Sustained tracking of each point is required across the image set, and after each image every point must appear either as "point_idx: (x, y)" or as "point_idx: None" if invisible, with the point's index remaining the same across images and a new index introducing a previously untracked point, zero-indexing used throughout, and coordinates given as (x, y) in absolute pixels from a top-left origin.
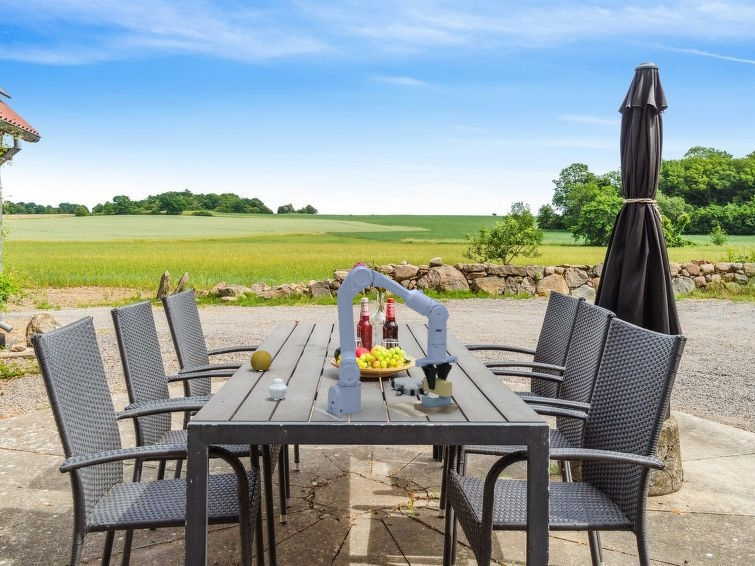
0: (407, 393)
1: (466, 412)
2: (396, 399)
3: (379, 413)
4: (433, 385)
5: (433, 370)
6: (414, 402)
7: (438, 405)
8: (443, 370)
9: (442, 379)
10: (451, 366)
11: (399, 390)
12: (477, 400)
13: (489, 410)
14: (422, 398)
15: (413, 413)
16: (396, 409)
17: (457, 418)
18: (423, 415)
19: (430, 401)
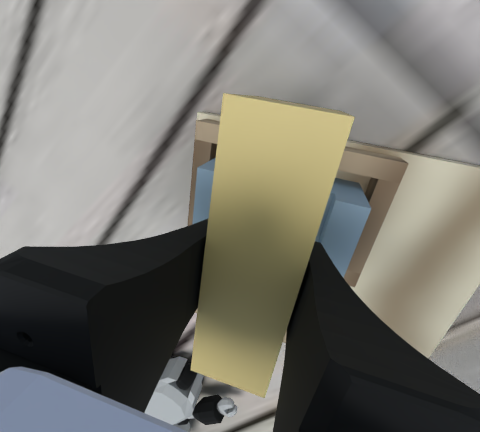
0: (200, 384)
1: (171, 99)
2: None
3: (474, 354)
4: (326, 254)
5: (430, 378)
6: None
7: None
8: (151, 308)
9: (207, 252)
10: (6, 257)
11: (216, 413)
12: (30, 194)
13: (65, 50)
14: (344, 269)
15: (435, 230)
16: (418, 322)
17: (289, 43)
18: (439, 168)
19: (361, 201)
